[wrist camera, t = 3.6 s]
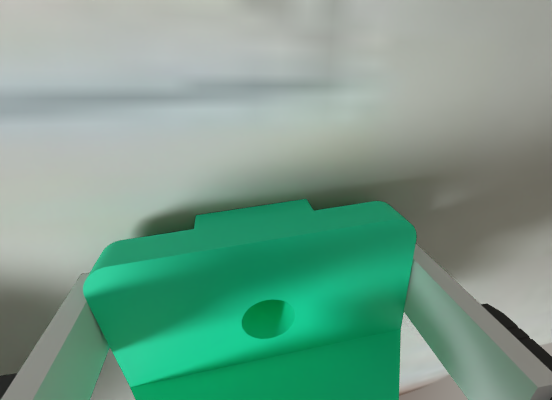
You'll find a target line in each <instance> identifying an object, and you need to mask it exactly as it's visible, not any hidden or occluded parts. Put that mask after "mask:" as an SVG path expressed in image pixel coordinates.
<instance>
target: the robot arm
mask: <svg viewBox="0 0 552 400" xmlns="http://www.w3.org/2000/svg"><path fill="white" fill-rule="evenodd" d="M88 275H89V273H86V274H81V275H80V277H79V278H78V280H77V282H76V283H75V285H74V286H73V288H72V289H71V291H70V292H69V294H68V296H67V297H66V299H65V300H64V302H63V303H62V305H61V306H60V308H59V310H58V311H57V313H56V314H55V316H54V317H53V319H52V321H51V322H50V324H49V325H48V327H47V328H46V330H45V331H44V333H43V335H42V336H41V338H40V339H39V341H38V342H37V344H36V345H35V347H34V349H33V350H32V352H31V353H30V355H29V356H28V358H27V360H26V361H25V363H24V364H23V366H22V367H21V369H20V370H19V372H18V373H17V374H10V375H3V376H0V400H90V398H91V395H92V392H93V390H94V387H95V384H96V382H97V379H98V377H99V374H100V371H101V369H102V366H103V363H104V361H105V358H106V356H107V353H108V350H109V348H110V346H109V344H108V342H107V340H106V338H105V336H104V334H103V332H102V330H101V328H100V326H99V325H98V323H97V321H96V319H95V317H94V315H93V313H92V311H91V309H90V307H89V305H88V303H87V301H86V299H85V297H84V294H83V285H84V282H85V280H86V278H87V277H88ZM404 312H405V314H406V315H407V316H408V318H409V319H410V320H411V322H412V323H413V325H414V326H415V327H416V329H417V330H418V331H419V333H420V334H421V336H422V337H423V338H424V340H425V341H426V342H427V344H428V345H429V346H430V348H431V349H432V351H433V352H434V353H435V355H436V356H437V357H438V359H439V360H440V362H441V363H442V364H443V366H444V367H445V368H446V370H447V371H448V373H449V374H450V375H451V377H452V378H453V379H454V381H455V382H456V383H457V385H458V386H459V388H460V389H461V390H462V392H463V393H464V395H465V396H466V397H467V399H468V400H552V356H550V355H549V354H548V353H547V352H546V351H545V350H544V349H543V348H542V347H540V346H539V345H538V344H537V343H536V342H535V341H534V340H533V339H530V338H529V336H528V335H527V334H526V333H525V332H524V331H523V330H522V329H519V328H518V326H517V325H516V324H515V323H514V322H513V321H512V320H510V319H509V318H508V317H507V316H506V315H505V314H504V313H502V312H500V311H499V310H497V309H495V308H494V307H492V306H490V305H489V304H480V303H478V302H477V301H476V300H475V299H474V298H473V297H472V296H471V295H470V294H469V293H468V292H467V291H466V290H465V289H464V288H463V287H462V286H460V285H459V284H458V283H457V282H456V281H455V280H454V279H453V278H452V277H451V276H450V275H449V274H448V273H447V272H446V271H445V270H443V269H442V268H441V267H440V266H439V265H438V264H437V263H436V262H435V261H434V260H433V259H432V258H431V257H430V256H429V255H428V254H427V253H425V252H424V251H423V250H422V249H421V248H420V247H419V246H418V245H417V244H415V250H414V256H413V261H412V267H411V273H410V279H409V284H408V290H407V296H406V301H405V307H404Z"/></svg>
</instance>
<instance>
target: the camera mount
mask: <svg viewBox="0 0 552 400" xmlns="http://www.w3.org/2000/svg"><path fill="white" fill-rule="evenodd" d="M416 238H417V235H416V230H415V228H414V226H413V225H412V224H411V223H410V222H408V221H407V220H406V219H405V218H404V217H403V216H401V215H400V214H399V213H398V212H397V211H396V210H394V209H393V208H392V207H391V206H390V205H389V204H387V203H385V202H381V201H372V202H366V203H359V204H353V205H346V206H340V207H333V208H327V209H321V210H313V209H312V207H311V206H310V204H309V202H308V201H307V199H302V200H295V201H288V202H281V203H275V204H268V205H261V206H255V207H248V208H241V209H234V210H228V211H221V212H214V213H207V214H201V215H196V218H195V225H194V229H191V230H184V231H178V232H171V233H165V234H159V235H152V236H146V237H139V238H133V239H126V240H120V241H116V242H114V243H112V244H110V245H108V246H107V247H106V248H105V249H104V250H103V252H102V253H101V255H100V257H99V258H98V260H97V262H96V263H95V265H94V267H93V268H92V270H91V272H90V273H89V275H88V277H87V278H86V280H85V282H84V285H83V294H84V297H85V299H86V301H87V303H88V305H89V307H90V309H91V311H92V313H93V315H94V317H95V319H96V321H97V323H98V325H99V326H100V328H101V330H102V332H103V334H104V336H105V338H106V340H107V342H108V344H109V346H110V348H111V350H112V352H113V354H114V356H115V358H116V360H117V362H118V364H119V366H120V368H121V370H122V372H123V374H124V376H125V378H126V380H127V382H128V384H129V386H130V388H131V390H132V392H133V395H134V397H135V399H136V400H399V372H400V334H401V324H402V319H403V313H404V307H405V301H406V296H407V290H408V284H409V279H410V273H411V267H412V261H413V256H414V250H415V244H416Z"/></svg>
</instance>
